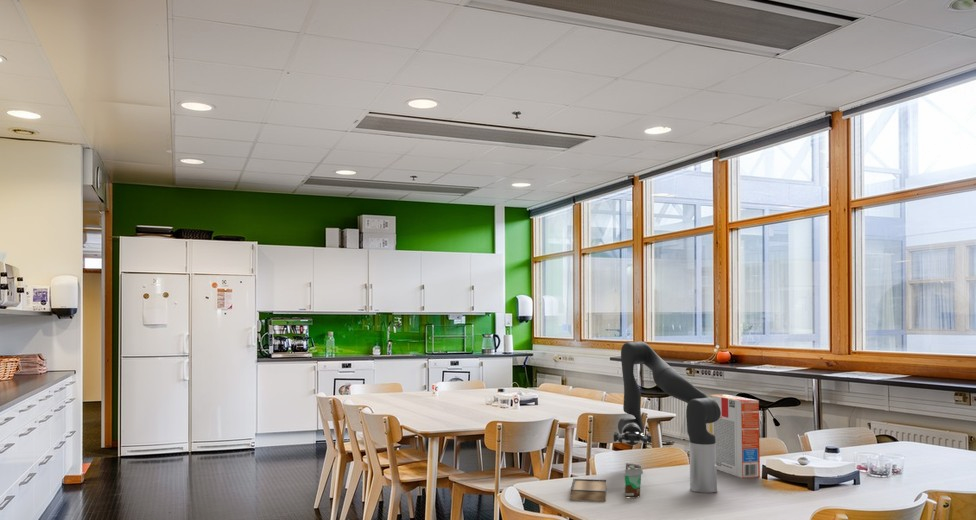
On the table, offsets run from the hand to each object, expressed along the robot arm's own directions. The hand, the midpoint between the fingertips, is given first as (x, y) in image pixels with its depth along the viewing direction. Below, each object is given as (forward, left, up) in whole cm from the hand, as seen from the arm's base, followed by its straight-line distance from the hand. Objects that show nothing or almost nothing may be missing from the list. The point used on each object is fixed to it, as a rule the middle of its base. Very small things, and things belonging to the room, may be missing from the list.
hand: (632, 440), depth 290 cm
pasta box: (-41, -34, -17) cm, 56 cm away
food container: (0, +14, -17) cm, 22 cm away
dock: (+16, +16, -17) cm, 28 cm away
